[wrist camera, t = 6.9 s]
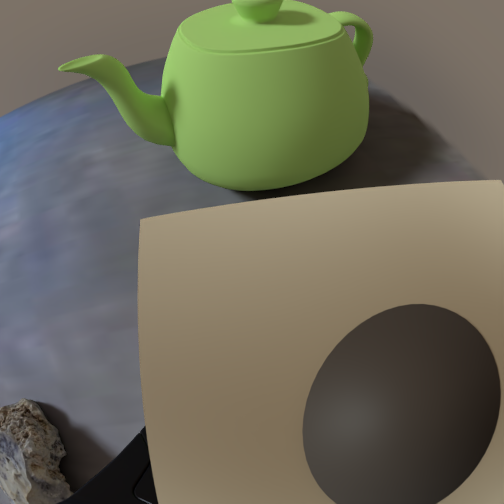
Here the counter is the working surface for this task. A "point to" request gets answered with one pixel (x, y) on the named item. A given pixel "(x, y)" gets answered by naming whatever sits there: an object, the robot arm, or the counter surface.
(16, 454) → the mineral specimen
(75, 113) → the counter surface
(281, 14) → the teapot
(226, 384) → the block
